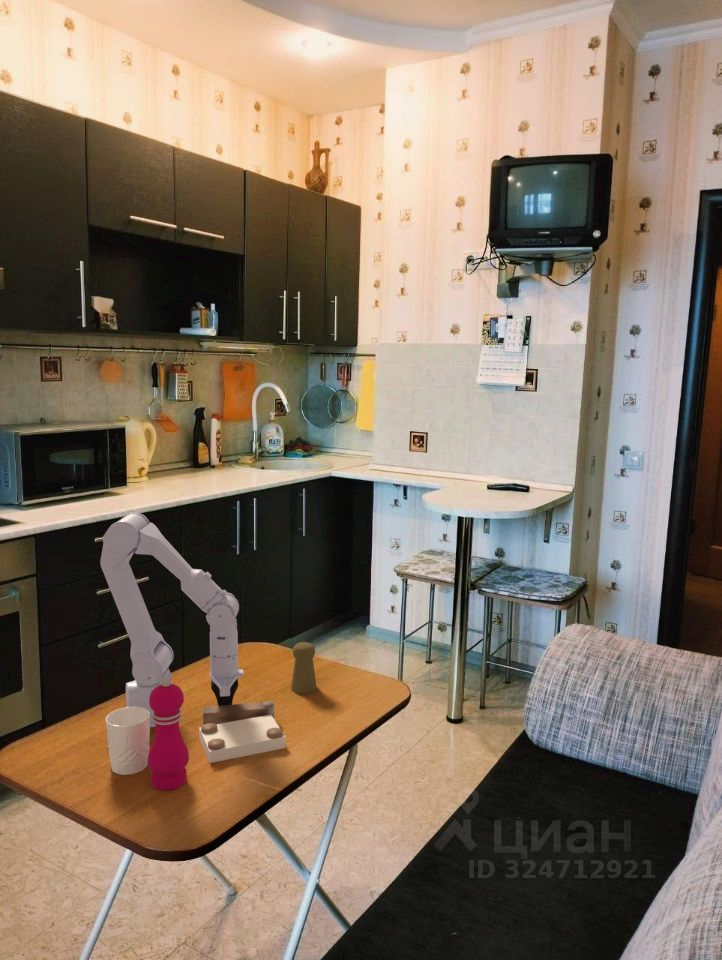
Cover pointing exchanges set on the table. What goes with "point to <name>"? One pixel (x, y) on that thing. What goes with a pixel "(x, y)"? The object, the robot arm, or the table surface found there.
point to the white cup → (128, 739)
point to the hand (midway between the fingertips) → (225, 713)
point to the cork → (303, 669)
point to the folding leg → (236, 712)
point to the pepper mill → (167, 738)
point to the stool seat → (241, 738)
